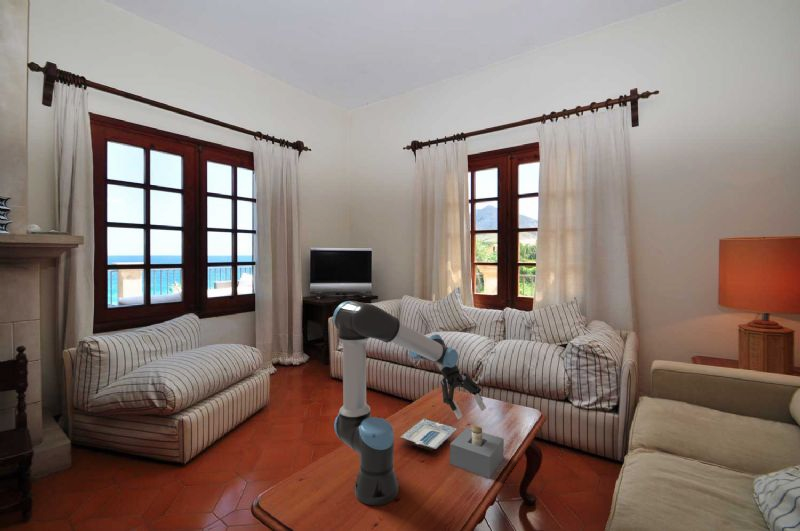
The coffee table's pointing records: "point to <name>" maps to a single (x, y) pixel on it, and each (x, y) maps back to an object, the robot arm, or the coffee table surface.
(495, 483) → the coffee table surface
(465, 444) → the socket block
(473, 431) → the peg
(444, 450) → the coffee table surface
